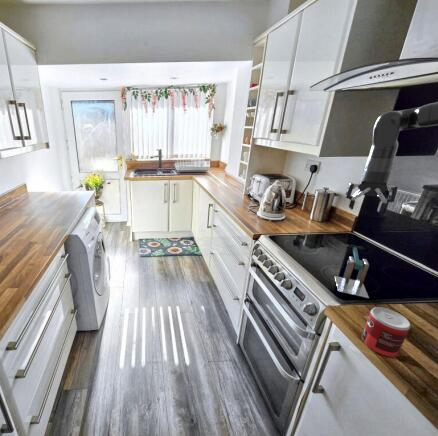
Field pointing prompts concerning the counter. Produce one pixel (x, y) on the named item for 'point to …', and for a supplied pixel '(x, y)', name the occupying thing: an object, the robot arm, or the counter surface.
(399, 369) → the counter surface
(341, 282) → the bracket
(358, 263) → the lever
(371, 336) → the canned food
